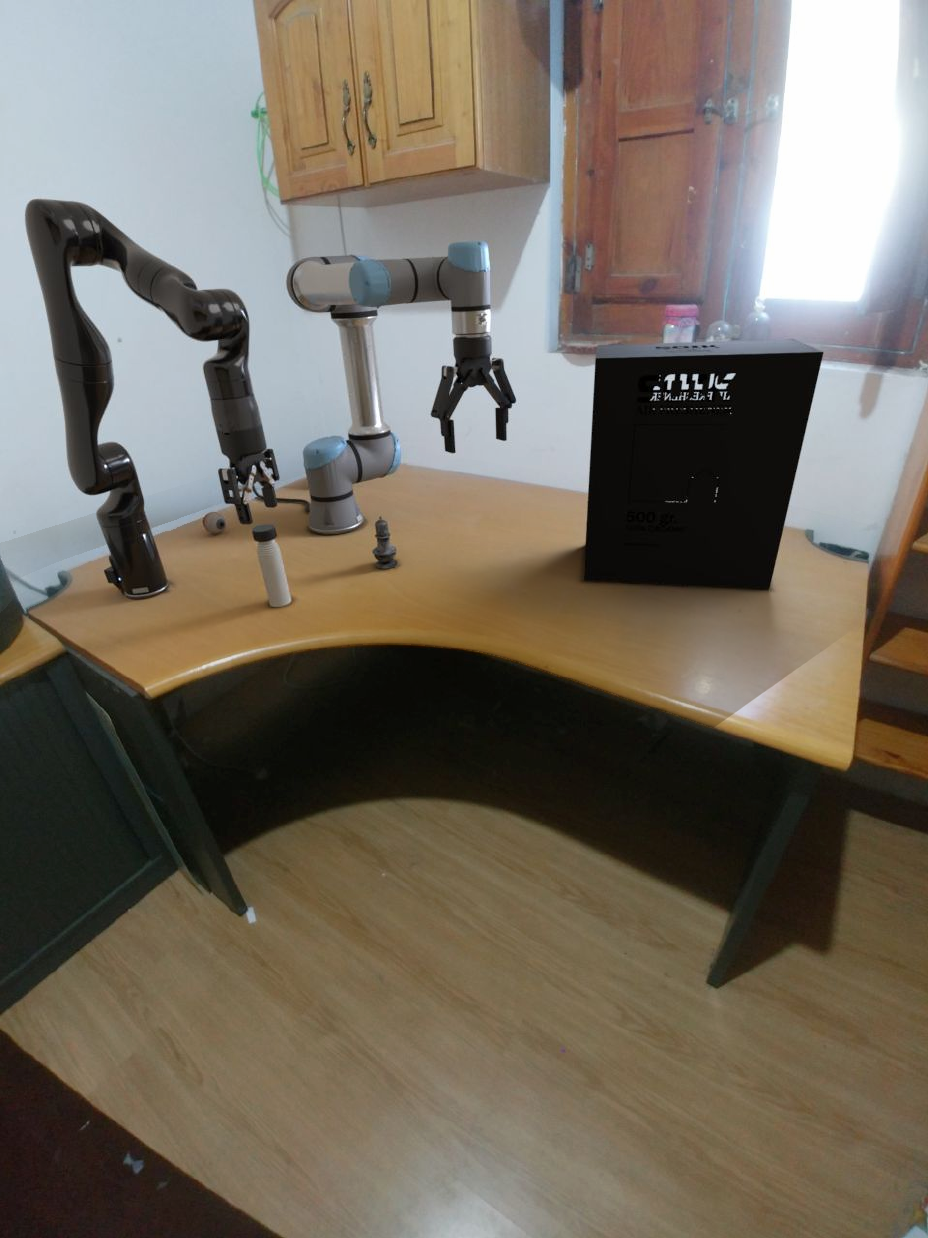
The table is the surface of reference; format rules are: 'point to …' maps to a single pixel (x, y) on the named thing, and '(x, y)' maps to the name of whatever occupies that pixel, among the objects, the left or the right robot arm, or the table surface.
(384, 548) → the grey tall turned piece
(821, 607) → the table surface
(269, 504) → the left robot arm
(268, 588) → the bottle
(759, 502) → the cardboard box
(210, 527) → the eyeball
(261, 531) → the cap
